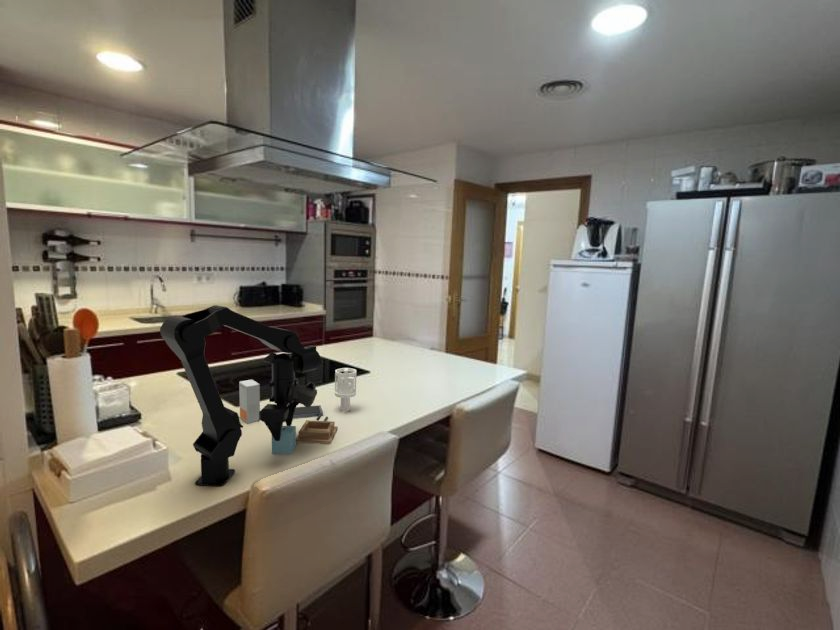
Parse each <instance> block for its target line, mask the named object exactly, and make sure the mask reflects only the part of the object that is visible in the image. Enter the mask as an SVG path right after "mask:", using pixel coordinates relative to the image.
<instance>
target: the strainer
mask: <svg viewBox="0 0 840 630" xmlns="http://www.w3.org/2000/svg"><path fill="white" fill-rule="evenodd" d="M334 371H335V372H334V396H335V397H336V398H340V412H343V413H346V412H349V411H351V409H350V408H351V407H350V406H351V405H350V404H351V398H355V396H356V395H357V369H355V368H351V367H342V368H337V369H335V370H334ZM342 372H343V373H342Z"/></svg>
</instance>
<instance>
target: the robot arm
mask: <svg viewBox="0 0 840 630" xmlns="http://www.w3.org/2000/svg"><path fill="white" fill-rule="evenodd" d="M223 326H224V327H226V328H229V329H232V330H235V331H237V332H240V333H242V334H245V335H247V336H250V337H252V338H255V339H257V340H259V341H260V342H261V343H262V344H263V345H265V346H267V347H269V349H271V350H274V351H277V352H282V353H275V352H272V351H271V352H269V354H268V355H266V356H265V358H264V359H263V361H264V362H265V363H269V364H271V381H269V387H271V396H270V397H269V399H268V400H269V402H270V403H267V404H266V405H265V406H264V407H263V408H262V409H260V412H259V421H261V422H263V423H264V424H265V425H266V427H267V429H268V430H269V432H270V434H271V437H272V436H273V437H274V439H275V441H280V438H281V432H282V426H284V425H283V423H285V426H292V423H293V420H294V418H293V417H294V413H295V409H296V407H298V405H299V404H300V405H303V407H310V406H313V404H314V401H315V399H316V397H317V395H318V389H316V383H314V382H312V381H310V382H308V383H307V384H306V385H305V384H303V385H301V384H299V379H298V378H297V377H296V373H298V374H302V373H306V372H310V371H315V370H317V369H319V368H320V367H321V366H322V365H321V364H322V358H321V355H320V353H319V352H318V351H317V346H315V345H312V344H311V345H307V346H303V344H302V343H301V341H300V339H299V334H298V333H297V332H295V331H293V330H289V329H284V328H279V327H275V326H270V325H266V324H265V323H262V322H260V321H257V320H255V319H252V318H250V317H248V316H246V315H243V314H241V313H238V312H236V311H233V310H232V309H230V307H227V306H222V305H217V304H215V305H212V306H209V307H207V308H204V309H201V310H197V311H193V312H190V313H186V314H184V315H181V316H180V315H179V316H178V315H173V316H170V317H168V318H166V319H165V320H164V321H163V322H162V324H161V326H160V327H159V332H160V336H161V338H162V339H163V340H164V341H165V343H166V345H167V347H169V349H170V350H171V351H172V352H173V353H174V354H175V356H177V358H178V359H179V360H180V362H181V364H182V367H183V369H184V371H185V374H186V376H187V379H188V381H189V384H190V386H191V388H192V390H193V393H194V396H195V398H196V400H197V403H198V405H199V407H200V410H201V413H202V417H201V428H202V432H201V433H200V434H199V436H198V437H197V438H196V439H195V441H194V442H193V444H192V446H193V449H194V450H195V452H198V453H199V454H200V474H201V475H200V476H199V477H198V478H197V480H196V481H194V485H195V486H213V487H214V486H217V487H222V486H225V484H227V482H228V480H230V478H231V477H232V476H233V475H234V474H235V472H236V469H234V468H230V464H229V463H230V460H229V458H231V457H234V456H235V453H236V450H237V447H238V443H239V441H240V439H241V437H243V432H242V428H244V426H243V425H242V423H241V421H240V415H239V414H238V412H236V411H235V410H233V409H230V408H228V407H226V406H225V405H224V403H223V400H222V397H221V394H220V392H219V389H218V386H217V384H216V382H215V379H214V377H213V374H212V371H211V369H210V365H209V363H208V362H207V359H206V356H205V349H206V339H205V338H206V337H208V336H210V335H212V334H214V333H215V332H217V330H219V329H220V328H221V327H223Z"/></svg>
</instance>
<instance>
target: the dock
mask: <svg viewBox="0 0 840 630" xmlns="http://www.w3.org/2000/svg"><path fill="white" fill-rule="evenodd" d="M335 424H336V423H335V421H329V420H328V421H327V420H326V421H324V420H305V421H304V423H303V425H302V426H301V428H300V429H299V430H298V433H297V434H298V435H296V444H297V443H298V444H317V445H331V444H332V441H333V439H334V438H335V435H336V433H337V431H338V426H335Z"/></svg>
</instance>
